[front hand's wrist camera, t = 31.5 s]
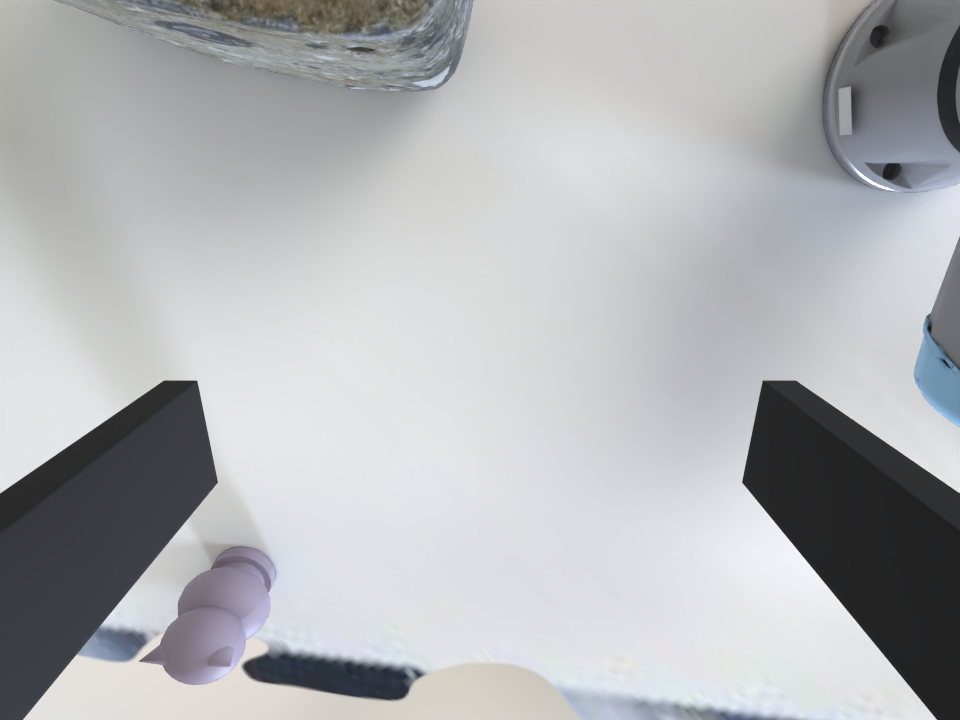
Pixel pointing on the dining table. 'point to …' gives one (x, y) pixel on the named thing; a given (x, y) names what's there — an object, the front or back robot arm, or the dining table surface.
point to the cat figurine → (217, 618)
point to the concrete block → (311, 36)
